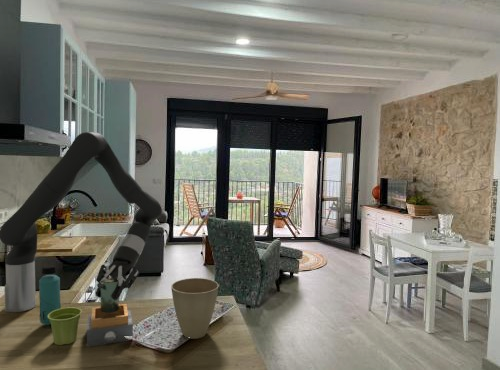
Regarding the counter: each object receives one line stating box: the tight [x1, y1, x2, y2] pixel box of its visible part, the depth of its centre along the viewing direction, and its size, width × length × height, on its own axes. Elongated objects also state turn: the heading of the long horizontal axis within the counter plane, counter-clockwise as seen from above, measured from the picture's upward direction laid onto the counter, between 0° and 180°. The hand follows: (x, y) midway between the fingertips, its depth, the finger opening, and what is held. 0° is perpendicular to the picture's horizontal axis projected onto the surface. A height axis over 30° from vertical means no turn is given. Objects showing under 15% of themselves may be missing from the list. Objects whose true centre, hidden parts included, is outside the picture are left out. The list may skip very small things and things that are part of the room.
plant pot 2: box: [170, 277, 220, 340], centre depth 123 cm, size 15×15×16 cm
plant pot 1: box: [48, 306, 83, 346], centre depth 117 cm, size 9×9×9 cm
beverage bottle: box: [38, 264, 62, 325], centre depth 128 cm, size 6×7×20 cm
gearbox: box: [86, 303, 134, 348], centre depth 121 cm, size 13×14×8 cm
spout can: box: [96, 277, 120, 313], centre depth 120 cm, size 8×6×10 cm
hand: (105, 297), depth 119 cm, fingers closed on spout can, 5 cm apart
